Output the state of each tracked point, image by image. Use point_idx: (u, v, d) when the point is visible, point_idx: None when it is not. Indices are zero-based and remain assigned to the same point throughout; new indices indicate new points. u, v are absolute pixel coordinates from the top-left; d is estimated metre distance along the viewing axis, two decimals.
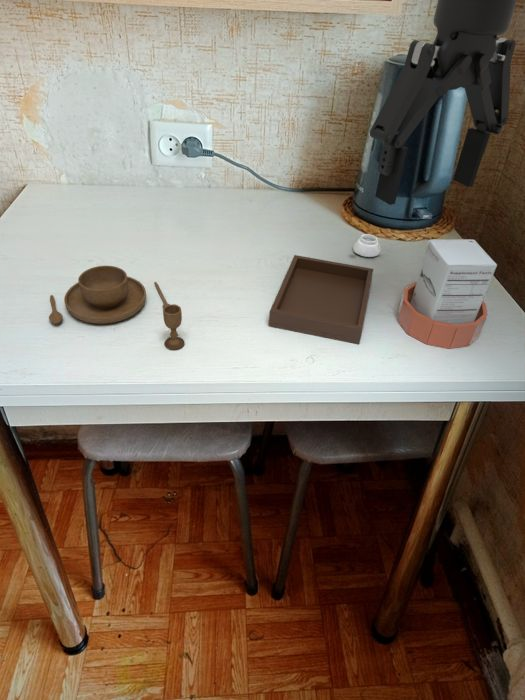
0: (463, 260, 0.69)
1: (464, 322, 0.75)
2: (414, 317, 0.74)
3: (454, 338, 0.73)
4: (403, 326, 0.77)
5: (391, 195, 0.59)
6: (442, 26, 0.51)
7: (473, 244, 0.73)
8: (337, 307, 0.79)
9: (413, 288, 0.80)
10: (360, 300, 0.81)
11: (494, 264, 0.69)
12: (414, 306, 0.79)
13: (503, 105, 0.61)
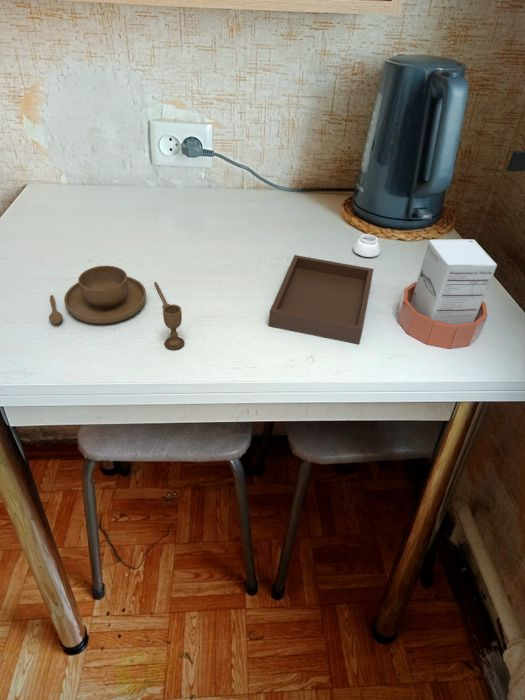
0: (463, 260, 0.69)
1: (464, 322, 0.75)
2: (414, 317, 0.74)
3: (454, 338, 0.73)
4: (403, 326, 0.77)
5: (519, 151, 0.72)
6: None
7: (473, 244, 0.73)
8: (337, 307, 0.79)
9: (413, 288, 0.80)
10: (360, 300, 0.81)
11: (494, 264, 0.69)
12: (414, 306, 0.79)
13: None
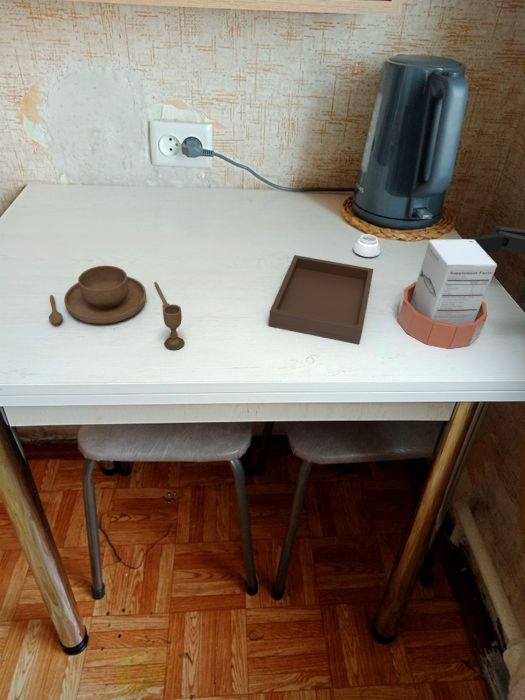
0: (463, 260, 0.69)
1: (464, 322, 0.75)
2: (414, 317, 0.74)
3: (454, 338, 0.73)
4: (403, 326, 0.77)
5: (472, 237, 0.80)
6: None
7: (473, 244, 0.73)
8: (337, 307, 0.79)
9: (413, 288, 0.80)
10: (360, 300, 0.81)
11: (494, 264, 0.69)
12: (414, 306, 0.79)
13: None
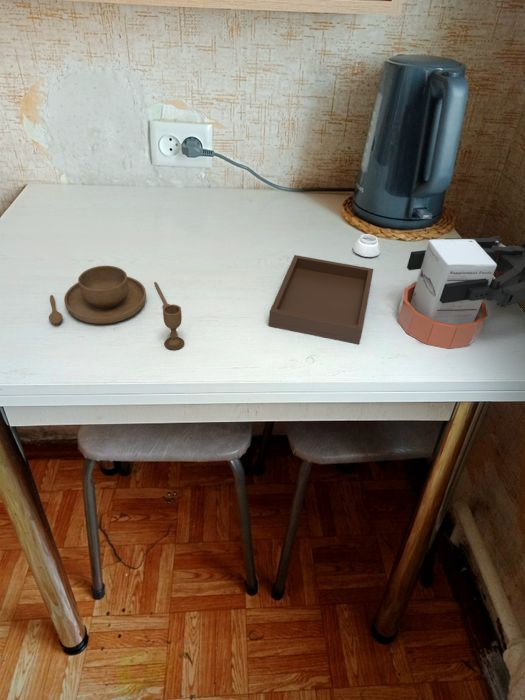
0: (463, 260, 0.69)
1: (464, 322, 0.75)
2: (414, 317, 0.74)
3: (454, 338, 0.73)
4: (403, 326, 0.77)
5: (417, 251, 0.75)
6: None
7: (473, 244, 0.73)
8: (337, 307, 0.79)
9: (413, 288, 0.80)
10: (360, 300, 0.81)
11: (494, 264, 0.69)
12: (414, 306, 0.79)
13: (516, 286, 0.69)
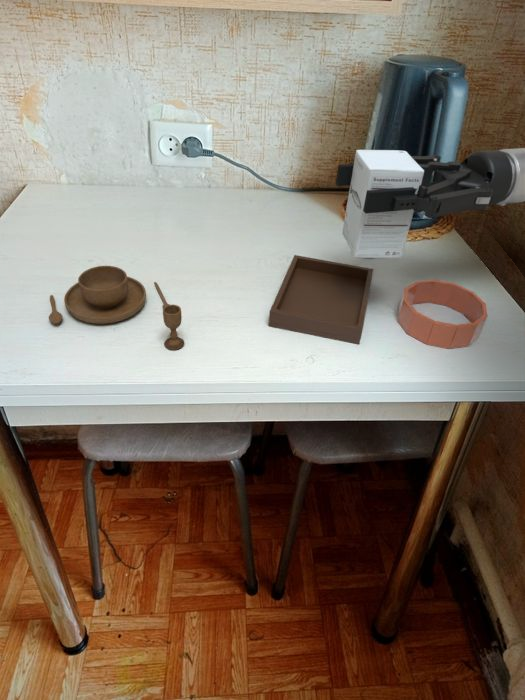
0: (388, 166, 0.64)
1: (395, 240, 0.70)
2: (414, 317, 0.74)
3: (454, 338, 0.73)
4: (403, 326, 0.77)
5: (345, 165, 0.70)
6: None
7: (403, 154, 0.67)
8: (337, 307, 0.79)
9: (413, 288, 0.80)
10: (360, 300, 0.81)
11: (421, 170, 0.64)
12: (346, 228, 0.74)
13: (446, 194, 0.64)
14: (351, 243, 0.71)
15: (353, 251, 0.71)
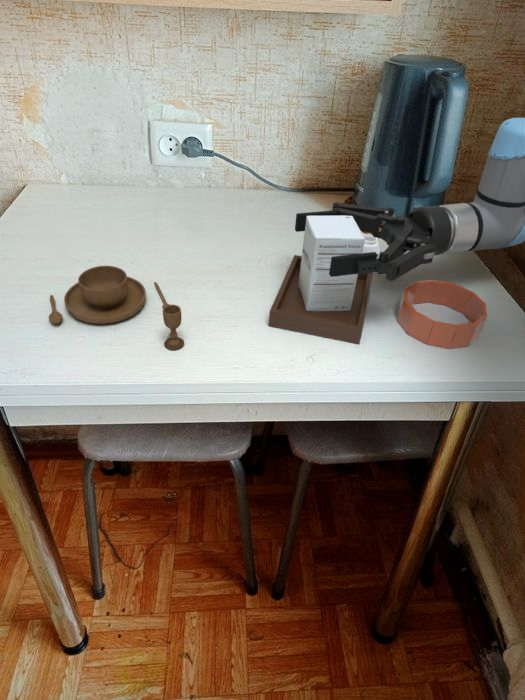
0: (332, 234, 0.71)
1: (343, 296, 0.77)
2: (414, 317, 0.74)
3: (454, 338, 0.73)
4: (403, 326, 0.77)
5: (302, 213, 0.78)
6: None
7: (349, 220, 0.75)
8: None
9: (413, 288, 0.80)
10: (360, 300, 0.81)
11: (362, 238, 0.71)
12: (300, 282, 0.81)
13: (401, 257, 0.69)
14: (304, 298, 0.78)
15: (305, 305, 0.78)
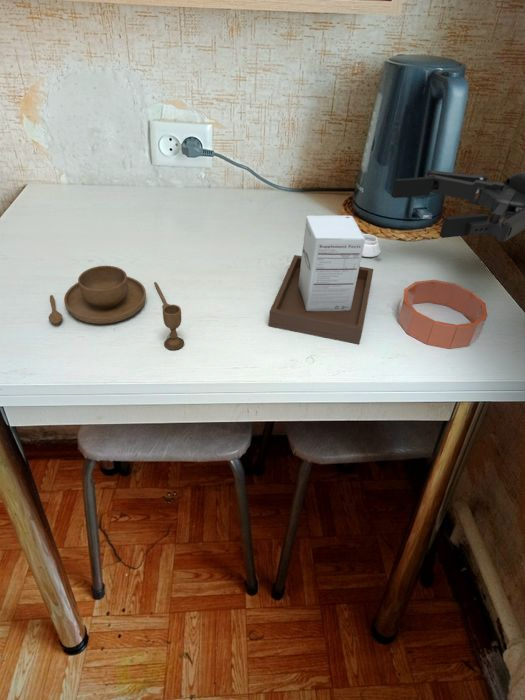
0: (332, 234, 0.71)
1: (343, 296, 0.77)
2: (414, 317, 0.74)
3: (454, 338, 0.73)
4: (403, 326, 0.77)
5: (400, 179, 0.78)
6: None
7: (349, 220, 0.75)
8: None
9: (413, 288, 0.80)
10: (360, 300, 0.81)
11: (362, 238, 0.71)
12: (300, 282, 0.81)
13: (512, 218, 0.69)
14: (304, 298, 0.78)
15: (305, 305, 0.78)
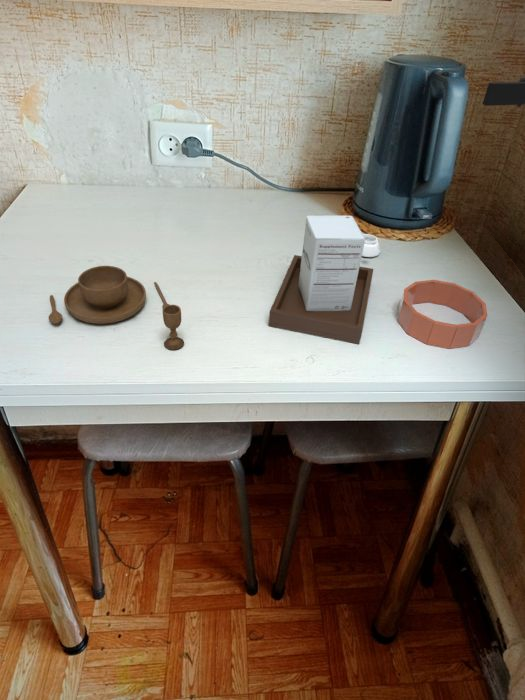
0: (332, 234, 0.71)
1: (343, 296, 0.77)
2: (414, 317, 0.74)
3: (454, 338, 0.73)
4: (403, 326, 0.77)
5: (495, 83, 0.69)
6: None
7: (349, 220, 0.75)
8: None
9: (413, 288, 0.80)
10: (360, 300, 0.81)
11: (362, 238, 0.71)
12: (300, 282, 0.81)
13: None
14: (304, 298, 0.78)
15: (305, 305, 0.78)
